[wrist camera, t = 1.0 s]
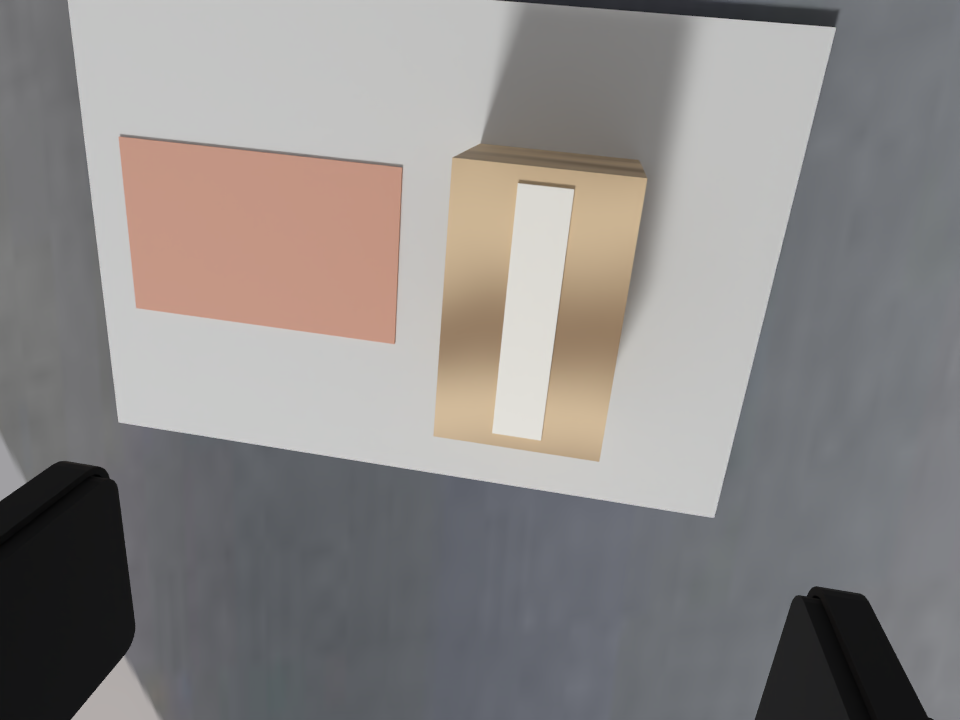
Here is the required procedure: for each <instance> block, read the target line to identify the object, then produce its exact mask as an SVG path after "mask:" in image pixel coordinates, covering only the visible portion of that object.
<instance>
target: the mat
mask: <svg viewBox="0 0 960 720" xmlns="http://www.w3.org/2000/svg"><path fill="white" fill-rule="evenodd" d="M68 6H69V15H70V23H71V31H72V39H73V48H74V56H75V64H76V73H77V81H78V89H79V98H80V106H81V114H82V122H83V131H84V139H85V147H86V156H87V164H88V172H89V181H90V189H91V197H92V205H93V214H94V222H95V230H96V239H97V247H98V255H99V264H100V272H101V280H102V288H103V297H104V305H105V313H106V322H107V330H108V338H109V347H110V355H111V363H112V371H113V380H114V388H115V396H116V405H117V413H118V421H119V422H120V423H126V424H132V425H138V426H145V427H151V428H157V429H163V430H170V431H176V432H182V433H188V434H194V435H201V436H207V437H213V438H219V439H226V440H232V441H238V442H244V443H251V444H257V445H263V446H269V447H275V448H282V449H288V450H294V451H300V452H307V453H313V454H319V455H325V456H332V457H338V458H344V459H350V460H356V461H363V462H369V463H375V464H381V465H388V466H394V467H400V468H406V469H412V470H419V471H425V472H431V473H437V474H444V475H450V476H456V477H462V478H469V479H475V480H481V481H487V482H493V483H500V484H506V485H512V486H518V487H525V488H531V489H537V490H543V491H550V492H556V493H562V494H568V495H574V496H581V497H587V498H593V499H599V500H606V501H612V502H618V503H624V504H631V505H637V506H643V507H649V508H655V509H662V510H668V511H674V512H680V513H687V514H693V515H699V516H705V517H711V518H714V516H715V512H716V508H717V504H718V500H719V496H720V492H721V488H722V484H723V480H724V476H725V472H726V468H727V464H728V460H729V456H730V452H731V448H732V444H733V440H734V436H735V432H736V428H737V424H738V420H739V416H740V412H741V408H742V404H743V400H744V396H745V392H746V388H747V384H748V380H749V376H750V372H751V368H752V364H753V360H754V356H755V352H756V348H757V344H758V340H759V336H760V331H761V327H762V323H763V319H764V315H765V311H766V307H767V303H768V299H769V295H770V291H771V287H772V283H773V279H774V275H775V271H776V267H777V263H778V259H779V255H780V251H781V247H782V243H783V239H784V235H785V231H786V227H787V223H788V219H789V215H790V211H791V207H792V203H793V199H794V195H795V191H796V187H797V183H798V179H799V175H800V171H801V167H802V163H803V159H804V155H805V151H806V147H807V143H808V139H809V135H810V131H811V126H812V122H813V118H814V114H815V110H816V106H817V102H818V98H819V94H820V90H821V86H822V82H823V78H824V74H825V70H826V66H827V62H828V58H829V54H830V50H831V46H832V42H833V38H834V34H835V30H836V27H824V26H811V25H799V24H786V23H773V22H761V21H748V20H736V19H723V18H711V17H698V16H686V15H673V14H660V13H648V12H635V11H623V10H610V9H598V8H585V7H573V6H560V5H547V4H535V3H522V2H510V1H497V0H68ZM480 143H481V144H490V145H500V146H510V147H519V148H529V149H539V150H548V151H558V152H567V153H577V154H587V155H596V156H606V157H616V158H625V159H635V160H639V161H640V163H641V165H642V167H643V169H644V172H645V174H646V176H647V178H648V179H647V184H646V190H645V196H644V202H643V208H642V214H641V220H640V226H639V231H638V237H637V243H636V249H635V255H634V261H633V267H632V273H631V278H630V284H629V290H628V296H627V302H626V308H625V314H624V320H623V326H622V331H621V337H620V343H619V349H618V355H617V361H616V367H615V373H614V378H613V384H612V390H611V396H610V402H609V408H608V414H607V420H606V425H605V431H604V437H603V443H602V449H601V455H600V461H599V462H597V461H590V460H584V459H577V458H571V457H564V456H558V455H551V454H545V453H538V452H532V451H525V450H519V449H512V448H506V447H499V446H493V445H487V444H480V443H474V442H467V441H461V440H454V439H448V438H441V437H435V436H433V434H434V419H435V405H436V390H437V375H438V360H439V346H440V331H441V316H442V301H443V287H444V272H445V257H446V242H447V228H448V213H449V198H450V183H451V168H452V157H454V156H456V155H458V154H460V153H462V152H464V151H466V150H468V149H470V148H472V147H474V146H476V145H478V144H480Z"/></svg>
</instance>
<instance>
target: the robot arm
mask: <svg viewBox="0 0 960 720" xmlns="http://www.w3.org/2000/svg"><path fill="white" fill-rule="evenodd" d="M134 633H135V619H134V611H133V603H132V595H131V587H130V579H129V572H128V564H127V556H126V548H125V540H124V532H123V524H122V516H121V508H120V501H119V493H118V487H117V484H116V483H115V481H113V480H111V479H110V478H109V475H108V473H107V472H106V470H105V469H103V468H101V467H98V466H92V465H86V464H80V463H74V462H68V461H60V462H57V463H55V464H53V465H52V466H50V467H49V468H47V469H46V470H44V471H43V472H42V473H40V474H39V475H37V476H36V477H34V478H33V479H32V480H30V481H29V482H27V483H26V484H24V485H23V486H22V487H20V488H19V489H17V490H16V491H14V492H13V493H12V494H10V495H9V496H7V497H6V498H4V499H3V500H1V501H0V720H71V719H72V717H73V716H74V715H75V714H76V713H77V711H78V710H79V709H80V708H81V707H82V705H83V704H84V703H85V702H86V701H87V699H88V698H89V697H90V696H91V695H92V693H93V692H94V691H95V690H96V688H97V687H98V686H99V685H100V684H101V683H102V681H103V680H104V679H105V678H106V677H107V675H108V674H109V673H110V672H111V671H112V669H113V668H114V667H115V666H116V664H117V663H118V662H119V661H120V660H121V658H122V657H123V656H124V655H125V654H126V652H127V651H128V649H129V647H130V645H131V643H132V641H133V638H134ZM755 720H933V719H932V718H928V716H927V714H926V712H925V711H924V709H923V707H922V705H921V703H920V701H919V699H918V697H917V695H916V693H915V691H914V689H913V687H912V685H911V683H910V681H909V679H908V677H907V675H906V673H905V671H904V670H903V668H902V666H901V664H900V662H899V660H898V658H897V656H896V654H895V652H894V650H893V648H892V646H891V644H890V642H889V640H888V638H887V636H886V634H885V632H884V630H883V629H882V627H881V625H880V623H879V621H878V619H877V617H876V615H875V613H874V611H873V609H872V607H871V605H870V603H869V601H868V600H867V599H866V597H865V596H864V595H862V594H859V593H853V592H847V591H841V590H835V589H829V588H823V587H817V586H816V587H812V589H811V590H810V591H809V593H808V595H807V597H806V596H800V595H798V596H795V598H794V599H793V601H792V603H791V606H790V609H789V612H788V616H787V619H786V622H785V625H784V628H783V632H782V635H781V638H780V641H779V644H778V647H777V651H776V654H775V657H774V660H773V663H772V667H771V670H770V673H769V676H768V679H767V683H766V686H765V689H764V692H763V695H762V698H761V702H760V705H759V708H758V711H757V714H756V718H755Z"/></svg>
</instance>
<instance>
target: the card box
mask: <svg viewBox="0 0 960 720" xmlns="http://www.w3.org/2000/svg"><path fill="white" fill-rule="evenodd" d="M647 179H648V178H647V176H646V174H645V172H644V169H643V167H642V165H641V163H640V161H639V160H635V159H625V158H616V157H606V156H596V155H587V154H577V153H567V152H558V151H548V150H539V149H529V148H519V147H510V146H500V145H490V144H481V143H480V144H478V145H476V146H474V147H472V148H470V149H468V150H466V151H464V152H462V153H460V154H458V155H456V156H454V157H452V168H451V183H450V198H449V213H448V228H447V242H446V257H445V272H444V287H443V301H442V316H441V331H440V346H439V360H438V375H437V390H436V405H435V419H434V434H433V436H435V437H441V438H448V439H454V440H461V441H467V442H474V443H480V444H487V445H493V446H499V447H506V448H512V449H519V450H525V451H532V452H538V453H545V454H551V455H558V456H564V457H571V458H577V459H584V460H590V461H597V462H599V461H600V455H601V449H602V443H603V437H604V431H605V425H606V420H607V414H608V408H609V402H610V396H611V390H612V384H613V378H614V373H615V367H616V361H617V355H618V349H619V343H620V337H621V331H622V326H623V320H624V314H625V308H626V302H627V296H628V290H629V284H630V278H631V273H632V267H633V261H634V255H635V249H636V243H637V237H638V231H639V226H640V220H641V214H642V208H643V202H644V196H645V190H646V184H647Z"/></svg>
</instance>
